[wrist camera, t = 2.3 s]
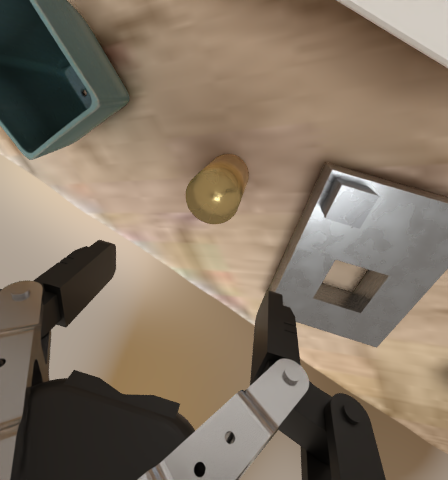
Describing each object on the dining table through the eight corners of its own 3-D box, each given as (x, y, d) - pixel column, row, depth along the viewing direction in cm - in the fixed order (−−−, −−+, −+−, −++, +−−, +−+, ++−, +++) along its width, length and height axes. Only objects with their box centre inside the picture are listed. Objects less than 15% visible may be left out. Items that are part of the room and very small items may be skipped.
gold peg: (213, 148, 26) (190, 164, 19) (253, 160, 25) (245, 180, 19) (205, 188, 28) (181, 215, 21) (242, 199, 28) (231, 230, 21)
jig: (325, 161, 24) (338, 177, 19) (466, 202, 24) (519, 229, 19) (266, 293, 33) (264, 327, 28) (367, 325, 33) (384, 366, 28)
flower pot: (156, 105, 25) (101, 105, 17) (96, 147, 28) (27, 162, 20) (100, 4, 22) (2, -52, 14) (40, 64, 25) (-67, 45, 17)
